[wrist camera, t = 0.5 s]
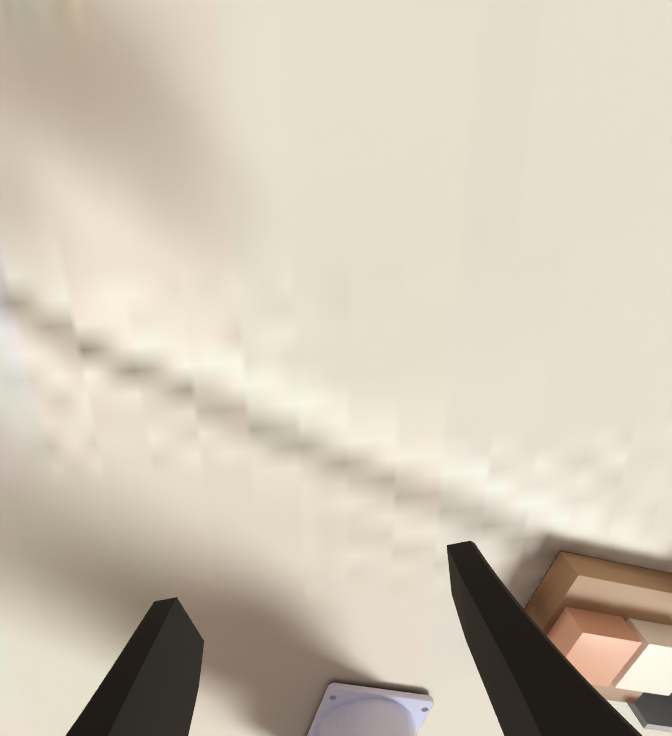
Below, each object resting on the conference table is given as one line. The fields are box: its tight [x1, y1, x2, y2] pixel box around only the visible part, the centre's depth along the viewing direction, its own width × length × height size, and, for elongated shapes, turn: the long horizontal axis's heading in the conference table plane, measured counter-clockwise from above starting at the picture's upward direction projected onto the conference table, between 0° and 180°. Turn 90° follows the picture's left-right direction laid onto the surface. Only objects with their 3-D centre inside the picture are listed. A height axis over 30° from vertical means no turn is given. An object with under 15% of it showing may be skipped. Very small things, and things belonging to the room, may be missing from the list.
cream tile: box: [611, 618, 672, 696], centre depth 25 cm, size 4×4×2 cm
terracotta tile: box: [547, 607, 642, 687], centre depth 24 cm, size 4×4×2 cm
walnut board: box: [525, 551, 672, 703], centre depth 26 cm, size 10×10×2 cm
